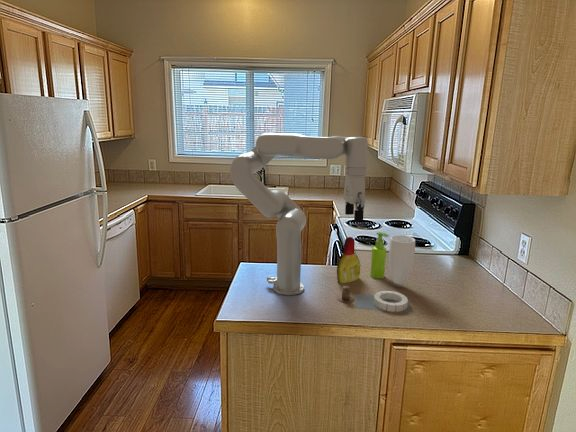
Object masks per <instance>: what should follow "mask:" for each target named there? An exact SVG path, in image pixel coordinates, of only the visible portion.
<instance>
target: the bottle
mask: <svg viewBox="0 0 576 432" xmlns="http://www.w3.org/2000/svg"><path fill="white" fill-rule="evenodd" d="M355 244H356V242H355V238H353V237H352V236H348V237H346V238H345V239H344V243H343V252H342V253H343V254H342V256H341V257H340V258H339V259H338V262H337V266H336V280H337V282H338V283H339V284H346V283H351V282H356V281H358V280H359V279H360V274H361V263H360V259H359V257H358V255H357V254H356V253H355V251H356V250H355Z"/></svg>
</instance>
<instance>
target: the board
mask: <svg viewBox="0 0 576 432" xmlns="http://www.w3.org/2000/svg"><path fill="white" fill-rule="evenodd" d="M374 295H375V294H365V293H355V299H354V308H356V309H365V310H374V311H383V312H388V311H387V310H386V311H385V310H382V309H380V308H378V307H377V306H375V305H374ZM407 299H408V306H407V308H406V309H405V310H404V311H399V312H398V313H399V314H400V313H401V314H410V315H411V314H412V311H411V306H410V305H411V304H410V300H409V298H407ZM383 301H386V302H390V303H397V302H398V301H396V300H393V299H383ZM389 312H390V313H391V311H389ZM394 313H397V312H396V311H395V312H394Z"/></svg>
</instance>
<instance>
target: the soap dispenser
mask: <svg viewBox="0 0 576 432" xmlns="http://www.w3.org/2000/svg"><path fill="white" fill-rule="evenodd" d="M376 235H377V236H378V237H377V239H376V240H375V246H372V249H371V250H372V251H371V265H370V274H369V275H370V277H372V279H378V280H381V279H384V278H385V270H386V269H385V266H386V257H387V256H386V255H387V247H384V245H385V240H384V239H383V237H385V238H387V237H390V235H389V234H388V233H384V232H381V231H380V232H379V231H378V232H376Z"/></svg>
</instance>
